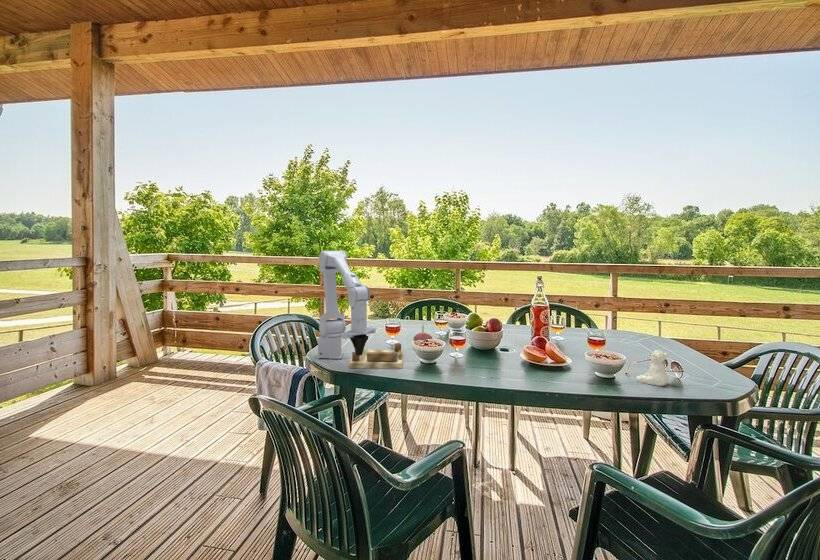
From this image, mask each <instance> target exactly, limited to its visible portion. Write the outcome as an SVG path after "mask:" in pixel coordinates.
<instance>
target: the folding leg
mask: <svg viewBox="0 0 820 560" xmlns="http://www.w3.org/2000/svg"><path fill="white" fill-rule="evenodd" d="M397 360H398V353H397V352H367V361H397Z"/></svg>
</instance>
